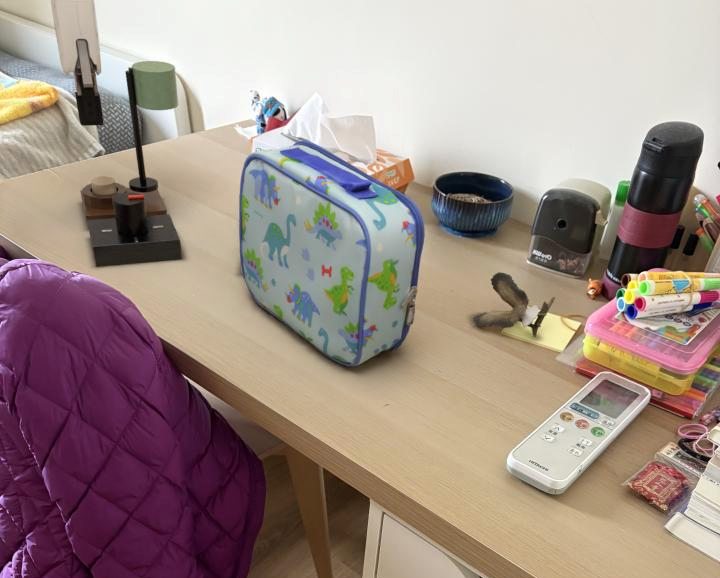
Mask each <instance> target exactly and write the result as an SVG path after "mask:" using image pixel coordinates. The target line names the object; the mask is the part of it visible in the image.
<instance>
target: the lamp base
mask: <svg viewBox="0 0 720 578" xmlns="http://www.w3.org/2000/svg"><path fill="white" fill-rule="evenodd" d="M115 183H116V190H117V192H116V193H113V194H110V195H97V194H94V193H93V192H92V186H91V183H89V184H86V185H85V186H83V188H81V189H80V190H79V191H80V195H81V196H80V197H81V200H82V207H83V211H84V215H85V221H86V222H87V220H96V219H111V218H115V214H114V208H113V202H112V198H113V197H114V196H115V195H117V194H120V193H137V194H140V195H144V199H145V206H146V214H147V216H153V215H167V214H168V211H167V208H166V206H165V204H164V201H163V198H162V195H161V193H160V191H159V188H158V189H157V190H155V191H152V192H145V193H142V192H135V191H132V190H131V189H130V188H129V187H126V186H125V185H123V184H121V183H118V182H115ZM86 225H87V227H88V224H87V223H86ZM87 230H88V231H89V229H88V228H87Z"/></svg>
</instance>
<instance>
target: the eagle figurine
mask: <svg viewBox="0 0 720 578" xmlns="http://www.w3.org/2000/svg"><path fill="white" fill-rule="evenodd" d="M490 282H491V283H490V284H491V286H492V289H493V290H494V291H495V292H496V293H497V294H498V295H499V297H500V299H501V300H502V301H503V302H505V303H506V304H507V305H509V306H510V307H511V308H512V309H511V310H491V311H489V312H488V311H487V312H482V313H479V314H477V315H475V316H473V322H474V324H476V326H478V327H481V328H482V327H484V328H486V327H499V328H502V329H508V328H512V327H514V325H516V324H517V322H519V323H522V327H523V328H526V327H528V328H531V332H532V336H533V337H534V338H536V337H537V335H538V331H539V328H541V327H542V326H541V325H542V323H543V321H544V319H545V317H547V314H548V312H549V310H550V309H551V307H552V305H553V303H554V302H555V299H556V296H552V298H551V299H550V300H549V301H548V303H547V302H546V301H543V304H542V306H541V308H540V309H539V306H538V304H534V305H532V306H529V307H528V305H529V303H530V298H528V295H527V293H526V292H525V290H522V289H521V288H519V287H518V284H517V283H516V282H515V280H514V279H513V277H512V275H510V274H509V273H505V272H500V271H497V272H496V273H495V274H493V275H492V278H490Z"/></svg>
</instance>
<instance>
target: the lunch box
mask: <svg viewBox="0 0 720 578" xmlns="http://www.w3.org/2000/svg"><path fill="white" fill-rule="evenodd" d="M239 183H240V184H239V193H240V196H239V195H238V203H239V205H238V212H239V213H238V234H239V235H238V236H239V237H238V239H239V240H238V241H239V257H240V268H242V273H243V274H242V277H243V280H244V283H245V285H246V288H247V290H248V292H249V293H250V296H251V297H252V299H253V300H254V302H256V303H257V305H259V306H260V307H261V308H263V309H264V310H265V311H267V312H268V313H269V314H271V315H272V316H274V317H275V318H277V319H278V320H279V321H281V322H282V323H283V324H285V325H286V326H287V327H289V328H290V329H292V330H293V331H294V332H295V334H296V335H298V336H300V337H302V338H303V339H304V340H306V341H307V342H309V343H310V344H311V345H312V346H313V347H315V349H317V350H318V351H319V352H320V353H322V354H323V355H324V356H326V357H327V358H329V359H330V360H332V361H333V362H336V363H338V364H341V365H342V366H347V367H356V366H359V365H361V364H363V363H365V362H366V361H368V360H369V359H371V358H373V357H375V356H377V355H379V354H380V353H381V352H385V351H388V352H394V351H395V350H397V349H399V348H400V347H401V346H402V345H403V343H404V342H405V340H406V338H407V337H408V334H409V331H410V329H411V326H412V325H413V324H414V320H415V319H414V318H415V313H416V298H417V294H418V283H419V275H420V265H421V258H422V254H423V248H424V243H425V237H426V235H425V234H426V233H425V231H426V229H425V223H424V219H423V213H422V212H421V210H420V208H419V206H418V205H417V204H416V203H415V202H414V200H413V199H411V198H410V197H408V196H407V195H406V194H404V193H402V192H400V191H399V190H397V189H395V188H393V187H391V186H389V185H388V184H385V183H383V182H382V181H380V180H378V179H377V178H375V177H374V176H371V175H369V174H368V173H367V172H364V171H363V170H361V169H360V168H359V167H357V166H355V165H353V164H351V162H350V163H349V162H348V161H347V160H345V159H343V158H342V157H340V156H338V155H336V154H334V153H333V152H330V151H329V150H327V149H326V148H324V147H322V146H320V145H318V144H316V143H315V142H313V141H309V140H299V141H296V142H295V143H293V145H289V146H284V147H279V148H272V149H267V150H265V149H263V150H258V151H254V152H251V153H249V154H248V155H247V156H246V158H245V159H244V162H243V165H242V170H241V175H240V182H239Z"/></svg>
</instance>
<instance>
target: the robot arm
mask: <svg viewBox="0 0 720 578" xmlns="http://www.w3.org/2000/svg"><path fill="white" fill-rule="evenodd" d="M50 5H51V12H52V18H53V25H54V31H55V37H56V42H57V43H56V44H57V49H58V55H59V56H58V57H59V61H60V65H61V68H62V72H63V73H64V74H65V75H66V76H70V73H73V77H74V78H73V79H74V86H75V92H74V96H75V101H76V102H75V103H76V108H77V114H78V120H79V123H80V125H81V126H84V127H85V126H87V127H88V126H93V127H94V126H103V125H104V116H103V109H102V101H101V100H102V99H101V94H100V92H99V89H98V81H97V76H99V75H100V74H102V60H101V48H100V37H99V29H98V21H97V19H98V18H97V12H96V5H95V0H50Z"/></svg>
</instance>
